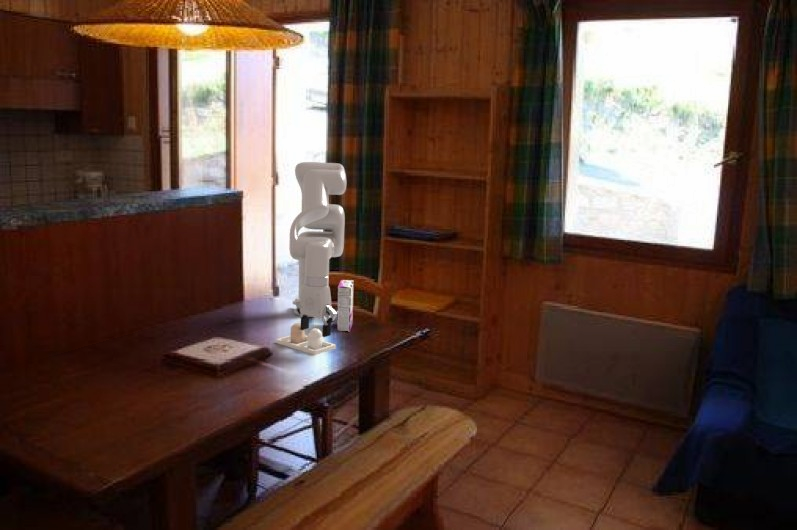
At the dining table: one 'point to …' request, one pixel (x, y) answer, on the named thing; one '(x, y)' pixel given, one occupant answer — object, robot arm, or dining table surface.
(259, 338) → the dining table surface
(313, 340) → the white egg
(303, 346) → the caddy
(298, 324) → the brown egg
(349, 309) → the candy bar box
